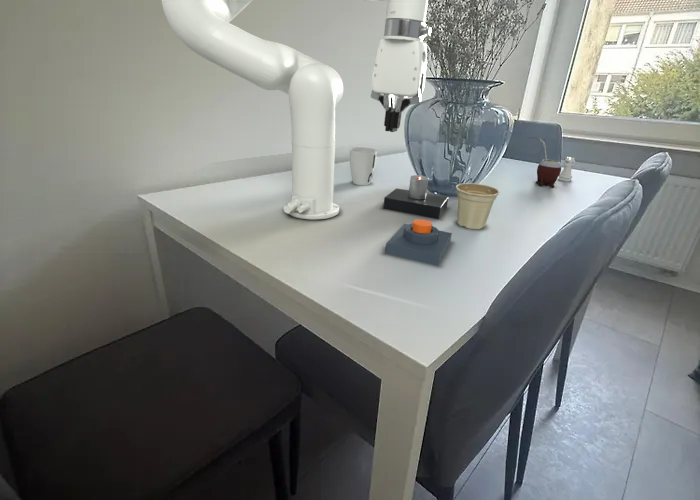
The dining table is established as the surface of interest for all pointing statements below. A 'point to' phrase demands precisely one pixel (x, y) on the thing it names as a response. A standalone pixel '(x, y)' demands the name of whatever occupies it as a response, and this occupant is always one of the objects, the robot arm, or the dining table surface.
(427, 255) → the button housing
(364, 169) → the cup
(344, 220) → the dining table surface
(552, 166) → the mate gourd
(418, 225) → the button
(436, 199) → the panel
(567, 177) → the rook chess piece
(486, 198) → the flower pot
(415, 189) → the dial
